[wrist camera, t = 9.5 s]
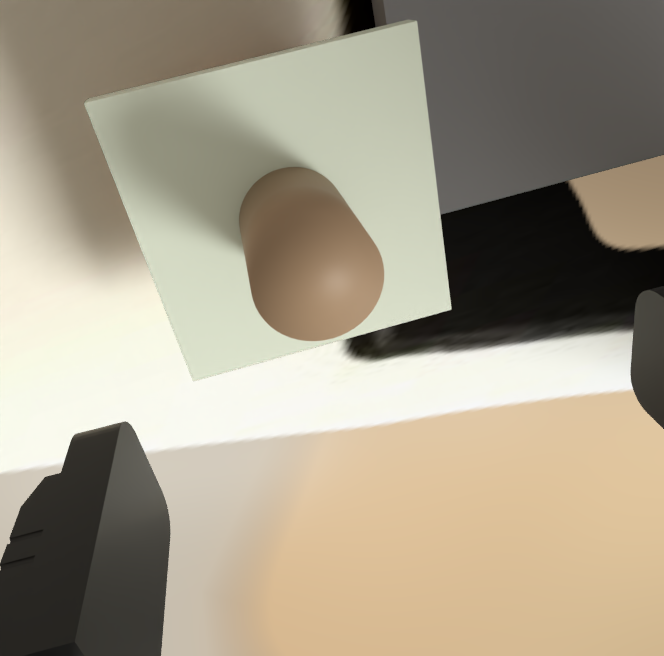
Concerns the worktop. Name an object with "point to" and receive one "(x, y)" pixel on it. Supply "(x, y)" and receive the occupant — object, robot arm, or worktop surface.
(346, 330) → the lid
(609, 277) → the worktop surface
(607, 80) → the mat
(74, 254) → the worktop surface
